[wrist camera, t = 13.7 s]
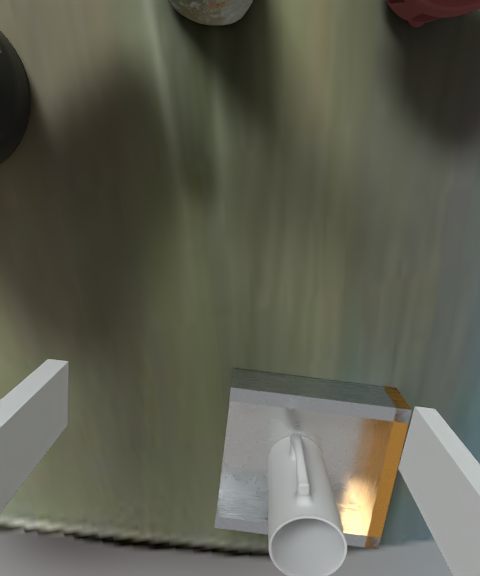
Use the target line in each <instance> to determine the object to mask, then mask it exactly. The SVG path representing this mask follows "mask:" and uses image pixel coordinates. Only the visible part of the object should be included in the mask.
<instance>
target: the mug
mask: <svg viewBox="0 0 480 576" xmlns="http://www.w3.org/2000/svg"><path fill="white" fill-rule="evenodd" d="M268 541H269V554H270V557H271V560H272V562H273V563H274V565H275V566H276V567H277V568H278V569H279V570H280V571H281V572H282V573H284V574H286V575H287V576H329V575H331V574H333V573H334V572H335V571H337V569H338V568H340V566H341V565H342V563H343V562H344V560H345V558H346V554H347V542H346V539H345V535H344V531H343V527H342V523H341V519H340V515H339V512H338V508H337V505H336V501H335V498H334V494H333V490H332V487H331V483H330V480H329V476H328V472H327V469H326V466H325V463H324V459H323V456H322V453H321V450H320V449H319V447H318V446H317V445H316V444H315V443H314V442H313V441H312V440H310V439H308V438H305V437H302V436H301V434H300V433H293V434H291V435H290V436H289V437H286V438H283V439H281V440H279V441H278V442H277V443H276V444H275V445H274V446H273V447H272V449H271V451H270V453H269V458H268Z"/></svg>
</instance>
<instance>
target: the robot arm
mask: <svg viewBox="0 0 480 576" xmlns="http://www.w3.org/2000/svg"><path fill="white" fill-rule="evenodd" d="M29 108H30V97H29V88H28V82H27V78H26V74H25V71H24V68H23V66H22V63H21V61H20V59H19V57H18V55H17V53H16V51H15V49H14V48H13V46H12V45H11V43H10V42H9V41H8V39H7V38H6V37H5V36H4V34H3V33H2V32H1V31H0V163H1V162H3V161H4V160H5V159H6V158H7V157H8V156H9V155H10V154H11V153H12V152H13V151H14V150H15V148H16V147H17V146H18V144H19V142H20V140H21V138H22V136H23V134H24V132H25V129H26V126H27V122H28V116H29ZM67 419H68V361H61V360H54V359H47V360H46V361H45V362H44V363H43V364H42V365H40V366H39V367H38V368H37V369H36V370H35V371H34V372H32V373H31V374H30V375H29V376H28V377H27V378H25V379H24V380H23V381H22V382H21V383H20V384H18V385H17V386H16V387H15V388H14V389H13V390H11V391H10V392H9V393H8V394H7V395H6V396H4V397H3V398H2V399H1V400H0V513H1V512H2V510H3V509H4V508H5V506H6V505H7V504H8V502H9V501H10V500H11V498H12V497H13V496H14V495H15V493H16V492H17V491H18V489H19V488H20V487H21V485H22V484H23V483H24V481H25V480H26V479H27V478H28V476H29V475H30V474H31V472H32V471H33V470H34V468H35V467H36V466H37V464H38V463H39V462H40V461H41V459H42V458H43V457H44V455H45V454H46V453H47V451H48V450H49V449H50V447H51V446H52V445H53V444H54V442H55V441H56V440H57V438H58V437H59V436H60V434H61V433H62V432H63V430H64V429H65V428H66V427H67ZM398 469H399V471H400V473H401V475H402V476H403V478H404V480H405V482H406V484H407V486H408V488H409V490H410V492H411V494H412V496H413V498H414V500H415V502H416V504H417V506H418V508H419V510H420V512H421V514H422V516H423V518H424V520H425V522H426V524H427V526H428V528H429V530H430V532H431V533H432V535H433V537H434V539H435V541H436V543H437V545H438V547H439V549H440V551H441V553H442V555H443V557H444V559H445V561H446V563H447V565H448V567H449V569H450V571H451V573H452V575H453V576H480V464H479V463H478V462H477V461H476V459H475V458H474V457H473V456H472V454H471V453H470V452H469V451H468V449H467V448H466V447H465V446H464V444H463V443H462V442H461V441H460V439H459V438H458V437H457V436H456V434H455V433H454V432H453V431H452V429H451V428H450V427H449V426H448V424H447V423H446V422H445V421H444V419H443V418H442V417H441V416H440V415H439V413H438V412H437V411H436V410H435V409H431V408H423V407H416V406H415V408H414V412H413V415H412V419H411V423H410V427H409V430H408V434H407V438H406V441H405V445H404V449H403V453H402V456H401V460H400V464H399V468H398Z"/></svg>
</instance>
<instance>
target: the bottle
mask: <svg viewBox="0 0 480 576" xmlns="http://www.w3.org/2000/svg"><path fill="white" fill-rule="evenodd" d="M168 1H169V2H170V4H171V5H172V6H173V7H174V8H175V9H176V10H177V11H178V12H179V13H180V14H181V15H183V16H185V17H186V18H188V19H190V20H192V21H195V22H197V23H200V25H201V24H205V25H227V24H232V23H234V22H236V21H238V20H239V19H241V18H242V17H243V16H244V14H245V13H246V12H247V10H248V9H249V7H250V6H251V4H252V2H253V0H168Z"/></svg>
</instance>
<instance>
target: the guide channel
mask: <svg viewBox="0 0 480 576" xmlns="http://www.w3.org/2000/svg"><path fill="white" fill-rule="evenodd" d="M229 401H230V403H229V411H228V420H227V428H226V436H225V445H224V453H223V462H222V470H221V479H220V487H219V495H218V502H217V510H216V518H215V526H214V528H221V529H228V530H236V531H244V532H251V533H259V534H267V535H268V458H269V453H270V451H271V449H272V447H273V446H274V445H275V444H276V443H277V442H278V441H279V440H281V439H283V438H286V437H289V436H290V435H291V434H293V433H300V434H301V436H302V437H305V438H308V439H310V440H312V441H313V442H314V443H315V444H316V445H317V446H318V447H319V449H320V450H321V453H322V456H323V459H324V463H325V466H326V469H327V472H328V476H329V480H330V483H331V487H332V490H333V494H334V498H335V501H336V505H337V508H338V512H339V515H340V519H341V523H342V527H343V531H344V535H345V539H346V542H347V545H351V546H358V547H366V548H373V549H378V548H379V544H380V539H381V535H382V531H383V527H384V523H385V519H386V515H387V510H388V506H389V502H390V498H391V494H392V490H393V486H394V481H395V477H396V473H397V469H398V465H399V461H400V457H401V452H402V448H403V444H404V440H405V436H406V432H407V428H408V423H409V419H410V415H411V411H412V410H411V408H410V407H409V405H408V404H407V402H406V401H405V400H404V398H403V397H402V395H401V394H400V392H399V391H398V390H397V388H391V387H383V386H375V385H367V384H359V383H351V382H343V381H335V380H327V379H318V378H310V377H302V376H294V375H286V374H278V373H270V372H262V371H254V370H246V369H238V368H234V369H233V376H232V383H231V391H230V400H229Z"/></svg>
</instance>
